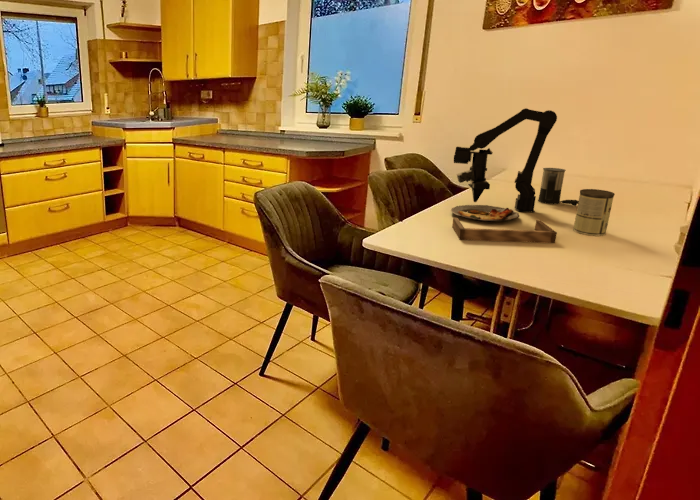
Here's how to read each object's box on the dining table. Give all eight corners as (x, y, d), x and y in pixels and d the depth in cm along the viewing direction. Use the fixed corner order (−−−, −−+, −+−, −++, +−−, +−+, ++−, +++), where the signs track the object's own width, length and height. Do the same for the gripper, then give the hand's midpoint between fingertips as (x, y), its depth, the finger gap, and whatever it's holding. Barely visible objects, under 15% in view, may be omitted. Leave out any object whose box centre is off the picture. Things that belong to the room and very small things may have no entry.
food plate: (528, 217, 171) (529, 208, 170) (501, 229, 155) (502, 219, 154) (469, 207, 188) (470, 199, 187) (439, 217, 172) (440, 208, 171)
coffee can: (571, 226, 160) (578, 187, 156) (602, 229, 157) (611, 190, 152) (574, 234, 151) (582, 193, 146) (608, 237, 148) (617, 196, 143)
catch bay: (539, 230, 155) (540, 220, 154) (555, 243, 141) (556, 232, 140) (452, 227, 156) (453, 217, 155) (459, 239, 142) (460, 229, 141)
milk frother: (535, 199, 203) (540, 166, 198) (571, 201, 201) (577, 168, 196) (543, 206, 190) (549, 171, 185) (582, 208, 188) (589, 173, 183)
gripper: (455, 161, 192) (452, 196, 197) (463, 167, 174) (459, 206, 179) (481, 161, 192) (477, 197, 197) (492, 168, 174) (487, 207, 179)
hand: (474, 202), depth 188 cm, fingers closed
